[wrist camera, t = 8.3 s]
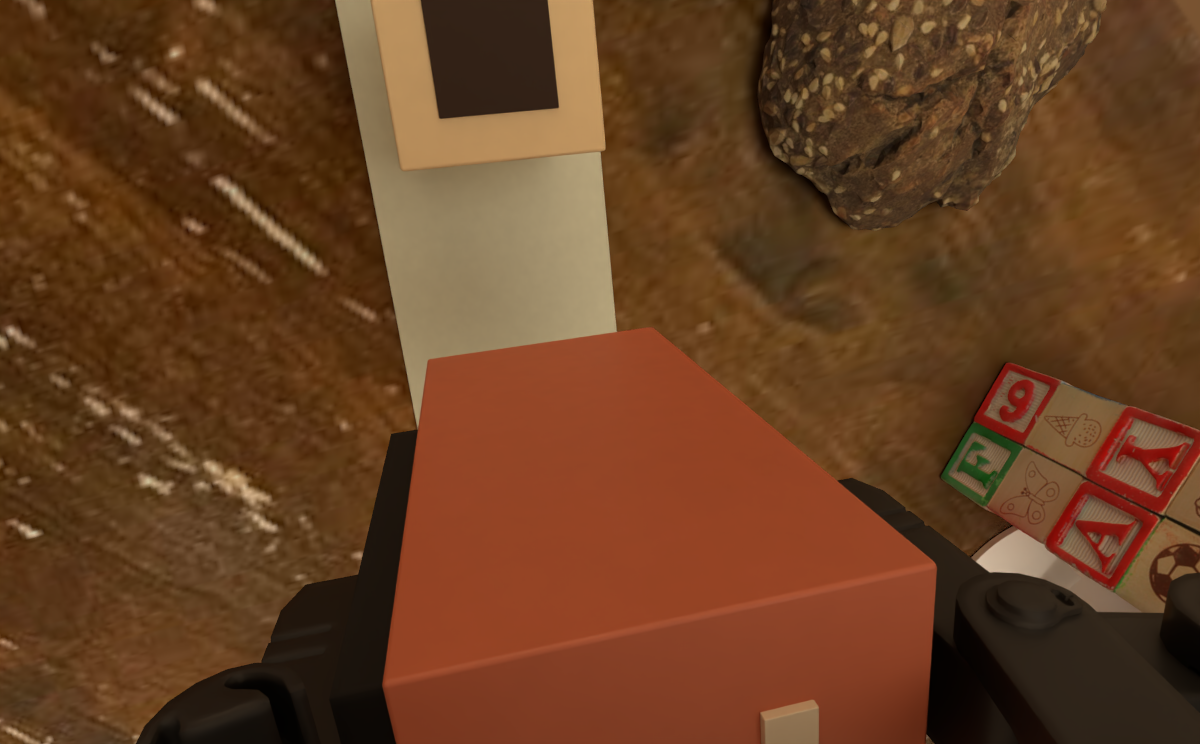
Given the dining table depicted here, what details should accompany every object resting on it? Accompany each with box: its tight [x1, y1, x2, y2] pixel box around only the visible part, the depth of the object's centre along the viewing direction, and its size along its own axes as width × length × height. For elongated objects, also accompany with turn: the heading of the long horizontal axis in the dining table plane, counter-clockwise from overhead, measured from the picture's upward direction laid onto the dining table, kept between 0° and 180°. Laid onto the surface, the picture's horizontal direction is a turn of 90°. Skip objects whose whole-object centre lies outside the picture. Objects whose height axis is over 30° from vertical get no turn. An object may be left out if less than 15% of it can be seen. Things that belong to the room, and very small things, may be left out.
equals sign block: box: [382, 327, 937, 744], centre depth 10 cm, size 5×5×9 cm
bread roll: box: [757, 0, 1107, 231], centre depth 24 cm, size 13×12×5 cm
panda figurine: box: [971, 526, 1142, 613], centre depth 29 cm, size 12×11×15 cm
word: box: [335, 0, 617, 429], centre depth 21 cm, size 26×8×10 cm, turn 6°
